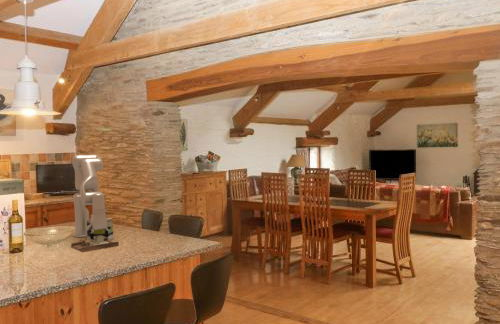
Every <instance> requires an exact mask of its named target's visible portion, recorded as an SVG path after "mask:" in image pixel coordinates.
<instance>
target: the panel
mask: <svg viewBox="0 0 500 324" xmlns="http://www.w3.org/2000/svg"><path fill="white" fill-rule="evenodd" d="M106 243H109V242H106V241H104V236H102V235H99V236H95V240H93V241H92V242H91V243H90V246H94V245H100V244H106ZM85 244H87V243H85Z"/></svg>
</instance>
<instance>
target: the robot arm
mask: <svg viewBox="0 0 500 324" xmlns="http://www.w3.org/2000/svg"><path fill="white" fill-rule="evenodd" d="M71 163H72V167H73V169H74V187H75V189H76V191H78V192H76V193H74V194H73V196H72V200H73V201H72V202H73V205H74V206H73V207H74V223H75V224H74V227H75V228H74V230H75V233H73V234H72V236H73V237H74V238H86V237H87V231H88V232H89V233H90V238H91V239H92V240H93V239H94V234H93V232H94V230H100V229H105V230H106V231H105V237H108V231H109V229H110V228H111V226H112V224H111V223H109V222H107V218H108V217H107V213H106V212H107V209H106V208H105V205H106V204H105V201H106V200H105V193H103V192H102V191H99V189H100V187H99V181H98V174H97V171H102V170H103V169H104V162H103V159H102V158H101V157H100V156H99V155H97V154H78V155H77V154H76V155H74V156H73V157H72V158H71ZM87 206H92V214H91V215H90V211H89V209H88V208H87ZM89 219H91V220H90V225H88V226H87V220H89ZM107 224H108V225H109V226H108V228H107ZM89 227H90V229H91V230H89Z"/></svg>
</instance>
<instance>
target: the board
mask: <svg viewBox="0 0 500 324" xmlns="http://www.w3.org/2000/svg"><path fill="white" fill-rule="evenodd" d="M79 240H80V241H77V242H72V243H71V247H70V248H72V249H74V250H77V251H79V252H81V253H84V252H90V251H96V250H101V249H102V248H103V249H108V247H109V248H114V246H115V247H119V245H120V243H119V241H112V240H110V241H109V240H108V238H104V241H106V242H109V243H106V244H100V245H94V246H90V243H91V242H92V241H93V240H87V238H86V237H82V238H79ZM85 243H87V244H85Z"/></svg>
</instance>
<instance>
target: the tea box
mask: <svg viewBox="0 0 500 324" xmlns="http://www.w3.org/2000/svg"><path fill="white" fill-rule="evenodd" d="M90 220H91V218H89V220H87V226H88V225H90ZM113 220H114V219H113V217H107V222H109V223H111V224H112V226H111V228H110V229H109V231H108V237H105V231H106V230H105V229H100V230H94V232H93V234H94V239H93V240H95V236H99V235H102V236H104V238H108V240H110V241H112V240H113V239H114V223H113V222H114V221H113ZM108 226H109V225H108V224H107V228H108ZM89 230H91V229H90V227H89ZM86 239H87V240H92V239H91V238H90V233H89V232H88V231H87V238H86ZM87 240H86V241H87Z"/></svg>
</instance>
